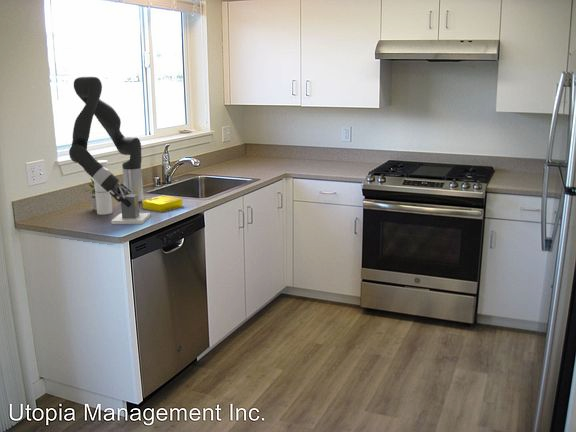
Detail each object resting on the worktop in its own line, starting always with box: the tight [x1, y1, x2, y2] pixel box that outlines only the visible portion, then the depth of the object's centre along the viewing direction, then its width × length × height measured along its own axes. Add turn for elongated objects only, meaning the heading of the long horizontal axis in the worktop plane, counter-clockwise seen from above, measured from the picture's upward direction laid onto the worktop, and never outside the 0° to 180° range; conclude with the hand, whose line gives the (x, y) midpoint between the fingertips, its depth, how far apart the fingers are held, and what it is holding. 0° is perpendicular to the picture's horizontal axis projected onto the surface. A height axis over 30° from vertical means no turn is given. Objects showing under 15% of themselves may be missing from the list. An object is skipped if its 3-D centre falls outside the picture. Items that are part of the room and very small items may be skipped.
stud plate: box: [110, 212, 151, 225], centre depth 272 cm, size 14×14×8 cm
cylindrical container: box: [93, 159, 113, 216], centre depth 285 cm, size 7×7×25 cm
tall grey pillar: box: [120, 194, 140, 219], centre depth 272 cm, size 6×6×10 cm
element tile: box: [141, 194, 183, 213], centre depth 297 cm, size 15×15×5 cm
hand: (132, 203), depth 271 cm, fingers open, 8 cm apart
